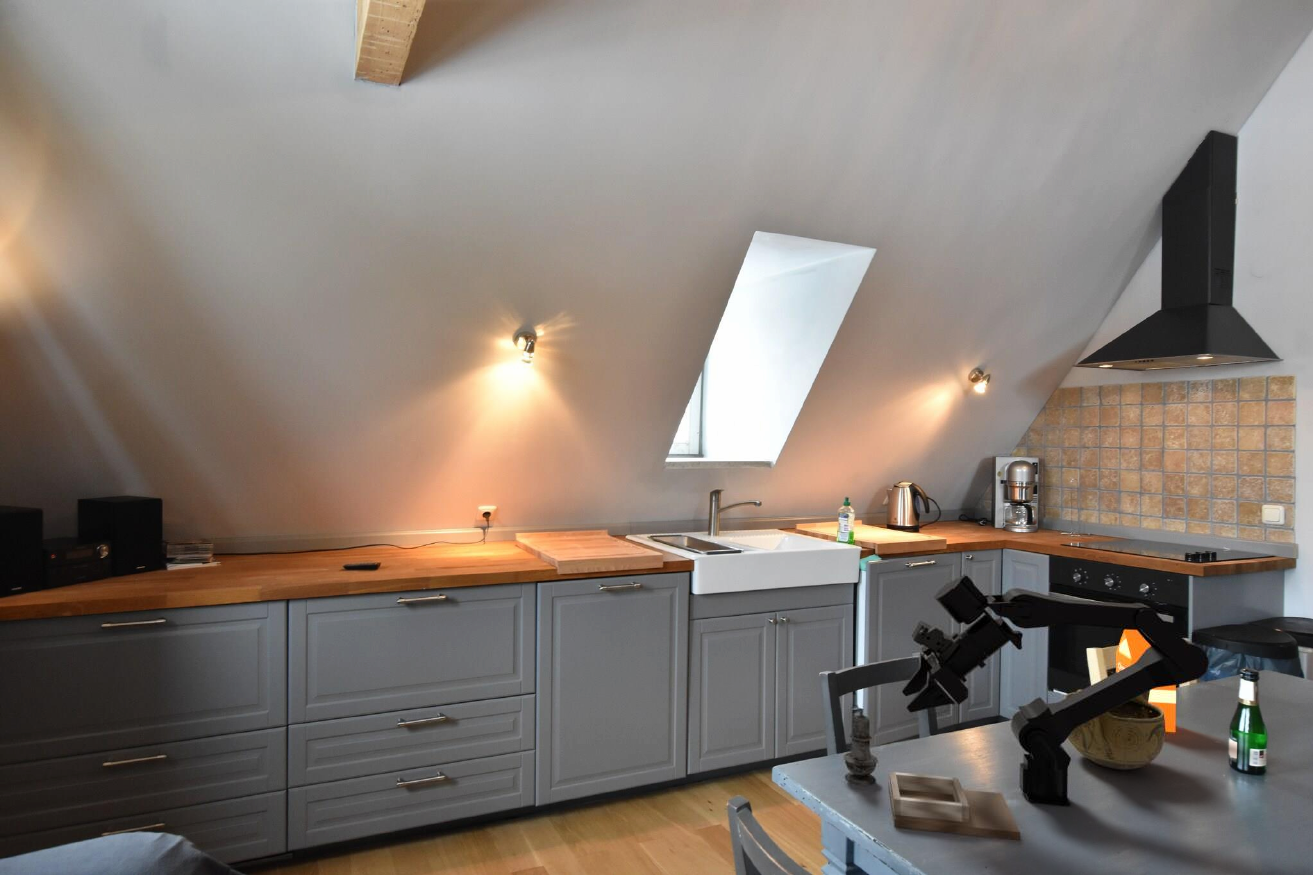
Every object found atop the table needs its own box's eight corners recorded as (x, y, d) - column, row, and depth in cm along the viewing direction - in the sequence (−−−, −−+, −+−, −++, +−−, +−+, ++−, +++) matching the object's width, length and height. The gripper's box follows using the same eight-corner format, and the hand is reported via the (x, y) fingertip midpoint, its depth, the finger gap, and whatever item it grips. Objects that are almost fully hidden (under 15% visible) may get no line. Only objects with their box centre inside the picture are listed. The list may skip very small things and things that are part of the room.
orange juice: (1115, 717, 179) (1115, 625, 179) (1158, 720, 178) (1159, 627, 178) (1130, 729, 171) (1131, 633, 171) (1176, 732, 170) (1177, 635, 170)
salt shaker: (878, 787, 140) (879, 716, 141) (843, 783, 142) (844, 714, 142) (876, 773, 146) (877, 706, 146) (842, 770, 147) (843, 703, 148)
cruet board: (1001, 800, 136) (1001, 778, 136) (1020, 840, 122) (1020, 815, 122) (888, 789, 140) (888, 768, 140) (894, 826, 126) (894, 803, 126)
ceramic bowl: (1131, 793, 139) (1132, 704, 140) (1035, 761, 153) (1036, 680, 153) (1188, 764, 153) (1189, 683, 153) (1095, 737, 166) (1095, 663, 166)
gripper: (936, 598, 151) (871, 652, 153) (950, 619, 132) (876, 680, 135) (979, 645, 149) (913, 699, 151) (1000, 673, 131) (924, 734, 133)
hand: (905, 701), depth 142 cm, fingers open, 9 cm apart
